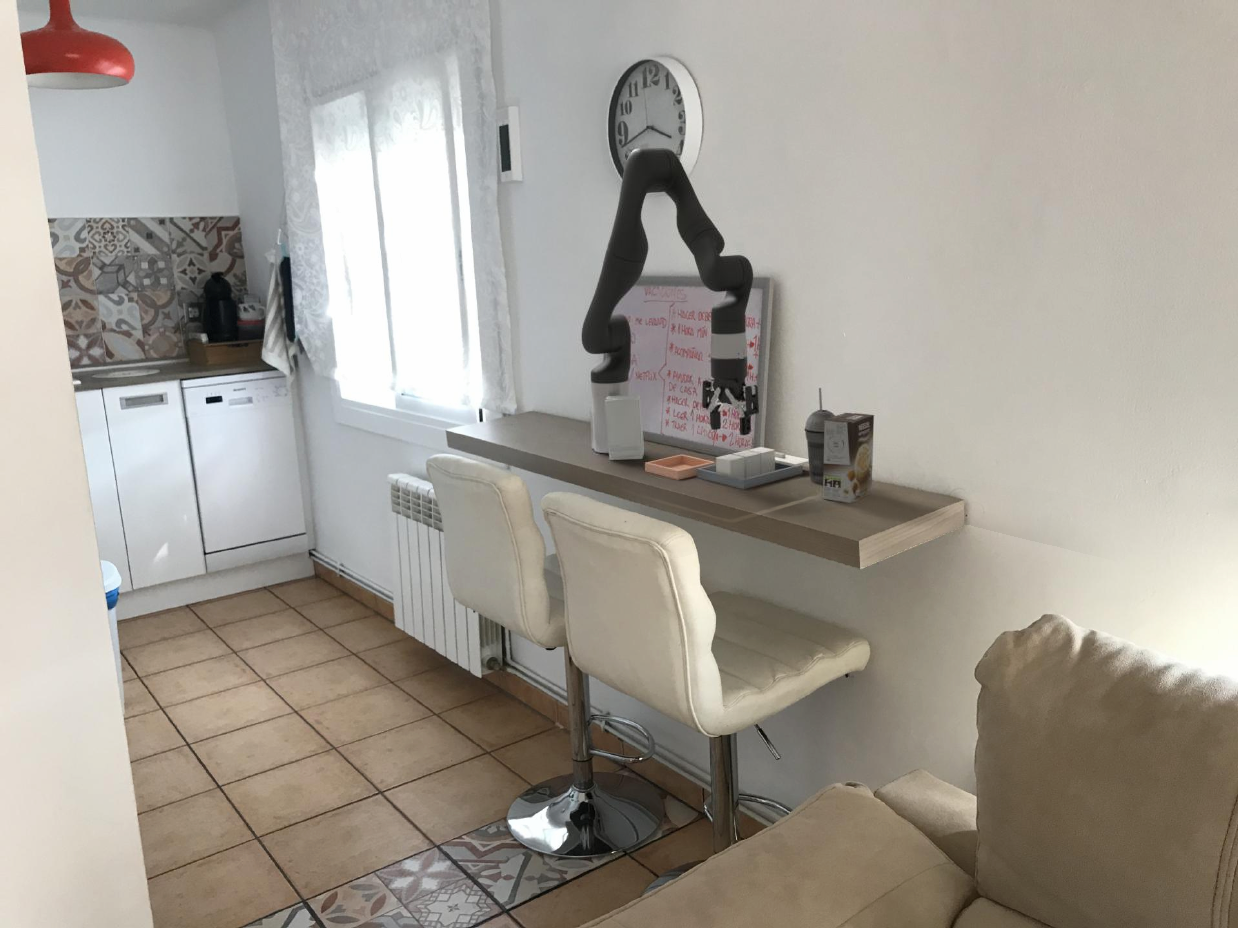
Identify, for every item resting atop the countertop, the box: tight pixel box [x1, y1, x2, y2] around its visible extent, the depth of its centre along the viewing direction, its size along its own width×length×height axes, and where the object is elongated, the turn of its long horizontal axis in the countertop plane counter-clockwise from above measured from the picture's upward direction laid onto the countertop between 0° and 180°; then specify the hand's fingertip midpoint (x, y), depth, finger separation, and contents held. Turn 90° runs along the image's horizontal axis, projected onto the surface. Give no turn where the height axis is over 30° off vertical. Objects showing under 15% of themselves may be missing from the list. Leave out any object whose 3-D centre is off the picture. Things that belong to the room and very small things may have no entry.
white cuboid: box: [732, 450, 760, 479], centre depth 212 cm, size 4×4×5 cm
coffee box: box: [822, 412, 875, 504], centre depth 194 cm, size 9×6×16 cm
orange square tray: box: [644, 453, 716, 481], centre depth 219 cm, size 11×11×2 cm
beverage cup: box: [804, 387, 836, 485], centre depth 204 cm, size 7×7×20 cm
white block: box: [715, 453, 744, 479], centre depth 209 cm, size 4×4×5 cm
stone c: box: [746, 446, 776, 475], centre depth 214 cm, size 4×4×5 cm
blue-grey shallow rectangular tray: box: [696, 451, 809, 490], centre depth 213 cm, size 15×21×4 cm
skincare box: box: [605, 393, 645, 461], centre depth 234 cm, size 8×6×15 cm
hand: (730, 432), depth 207 cm, fingers open, 8 cm apart
